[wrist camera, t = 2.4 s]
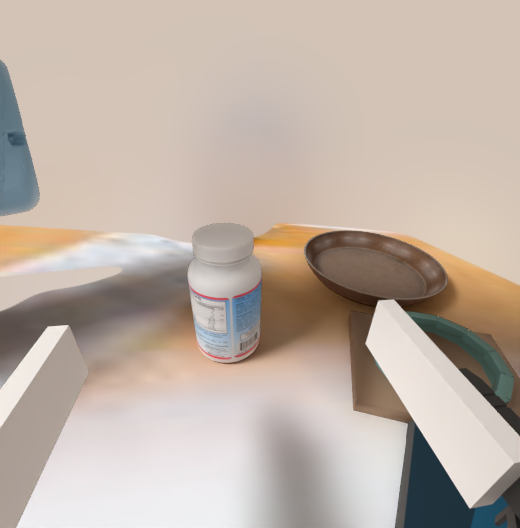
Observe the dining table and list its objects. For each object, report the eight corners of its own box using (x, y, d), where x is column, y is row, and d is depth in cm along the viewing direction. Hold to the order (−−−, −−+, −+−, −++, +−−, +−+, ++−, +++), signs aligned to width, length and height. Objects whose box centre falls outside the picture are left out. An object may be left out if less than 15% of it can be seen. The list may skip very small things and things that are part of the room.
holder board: (353, 410, 21) (361, 387, 19) (348, 319, 29) (353, 299, 28) (555, 458, 18) (581, 436, 17) (484, 343, 27) (497, 323, 25)
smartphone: (377, 641, 12) (382, 638, 12) (412, 383, 23) (415, 376, 23) (623, 851, 9) (645, 858, 8) (525, 433, 20) (532, 426, 19)
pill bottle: (249, 313, 30) (250, 216, 24) (268, 357, 25) (275, 247, 19) (193, 324, 28) (179, 222, 22) (200, 373, 23) (185, 258, 17)
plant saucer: (404, 249, 45) (410, 232, 43) (471, 324, 30) (483, 302, 28) (297, 243, 45) (299, 226, 44) (308, 315, 30) (312, 293, 29)
